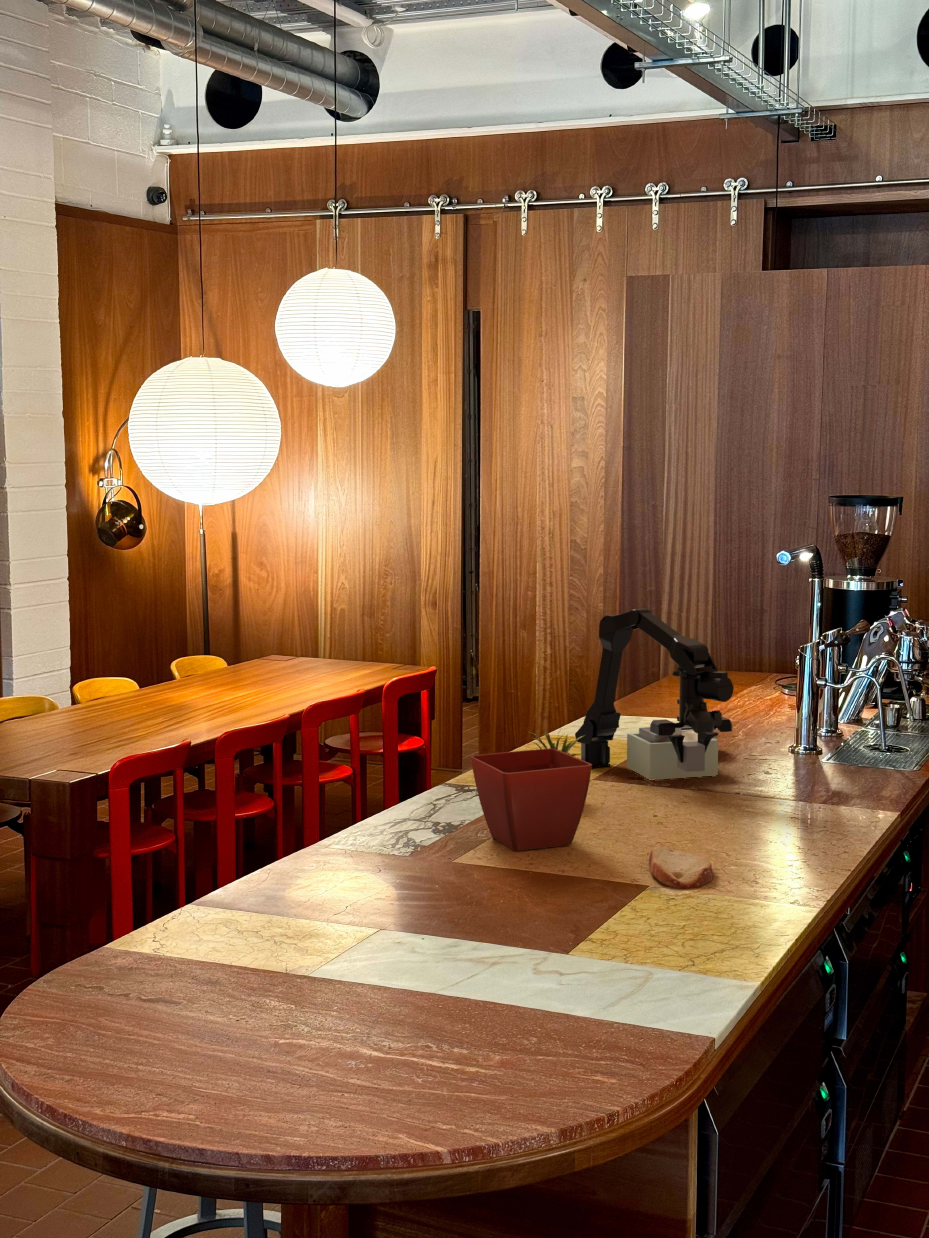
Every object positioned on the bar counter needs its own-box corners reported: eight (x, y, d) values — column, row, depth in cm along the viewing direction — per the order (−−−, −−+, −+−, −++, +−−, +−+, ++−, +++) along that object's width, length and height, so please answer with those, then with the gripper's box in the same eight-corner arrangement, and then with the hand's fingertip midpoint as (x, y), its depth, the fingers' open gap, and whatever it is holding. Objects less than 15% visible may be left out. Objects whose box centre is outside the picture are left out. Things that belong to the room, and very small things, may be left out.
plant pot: (469, 834, 279) (468, 754, 277) (554, 825, 286) (553, 747, 284) (504, 858, 261) (504, 773, 260) (593, 848, 268) (594, 764, 266)
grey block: (686, 771, 316) (687, 746, 316) (677, 767, 322) (677, 742, 321) (704, 770, 317) (704, 745, 317) (694, 765, 323) (694, 741, 322)
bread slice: (661, 854, 265) (661, 836, 264) (742, 872, 252) (742, 852, 252) (606, 875, 252) (606, 855, 251) (688, 894, 239) (688, 874, 239)
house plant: (509, 800, 308) (509, 730, 306) (535, 788, 320) (535, 720, 318) (567, 807, 301) (567, 735, 299) (591, 794, 313) (591, 725, 311)
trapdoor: (656, 753, 328) (656, 735, 327) (637, 744, 339) (637, 727, 339) (715, 749, 332) (715, 732, 331) (695, 740, 343) (695, 723, 343)
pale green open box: (650, 781, 326) (650, 743, 325) (626, 768, 341) (626, 731, 340) (718, 776, 331) (719, 738, 330) (691, 763, 346) (692, 727, 345)
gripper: (668, 704, 307) (668, 771, 309) (743, 700, 312) (742, 766, 314) (649, 696, 318) (648, 761, 320) (722, 692, 323) (721, 756, 325)
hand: (690, 761), depth 319 cm, fingers closed on grey block, 4 cm apart
